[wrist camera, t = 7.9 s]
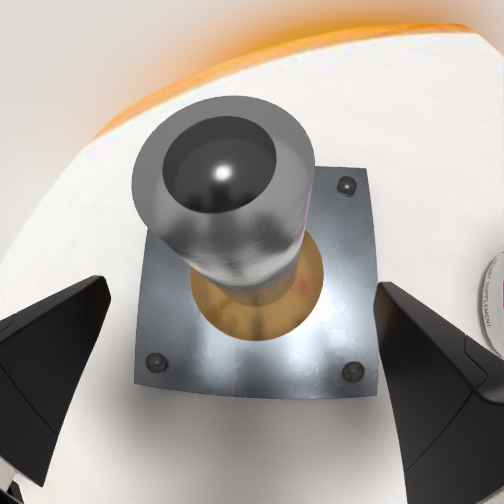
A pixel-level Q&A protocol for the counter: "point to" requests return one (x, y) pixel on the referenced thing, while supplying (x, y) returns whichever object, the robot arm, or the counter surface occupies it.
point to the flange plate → (271, 312)
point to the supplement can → (495, 303)
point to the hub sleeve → (229, 193)
